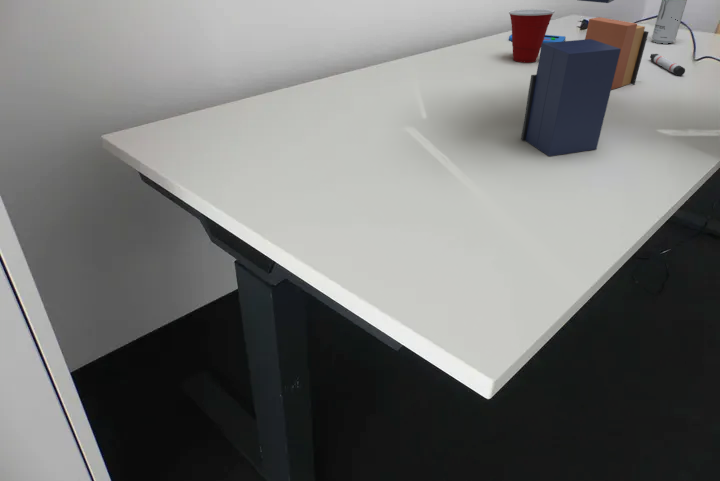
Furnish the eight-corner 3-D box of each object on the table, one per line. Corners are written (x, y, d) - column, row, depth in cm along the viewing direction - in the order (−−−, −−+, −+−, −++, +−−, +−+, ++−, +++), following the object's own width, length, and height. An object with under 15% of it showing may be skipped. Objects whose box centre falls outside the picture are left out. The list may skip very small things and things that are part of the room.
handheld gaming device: (513, 31, 160) (566, 35, 155) (513, 35, 161) (565, 39, 155) (507, 36, 154) (562, 41, 149) (507, 40, 155) (561, 45, 149)
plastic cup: (528, 52, 143) (535, 4, 137) (555, 62, 135) (564, 11, 128) (493, 57, 140) (499, 7, 133) (519, 67, 131) (527, 14, 125)
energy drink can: (647, 39, 155) (662, -18, 147) (668, 39, 155) (684, -18, 147) (656, 44, 150) (673, -15, 142) (678, 44, 150) (696, -15, 142)
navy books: (599, 149, 88) (624, 48, 80) (546, 156, 86) (566, 53, 77) (570, 132, 95) (590, 37, 86) (520, 139, 92) (536, 42, 84)
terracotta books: (613, 90, 115) (629, 26, 108) (574, 79, 122) (587, 18, 115) (634, 84, 119) (651, 21, 112) (595, 74, 126) (608, 14, 119)
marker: (683, 76, 124) (686, 67, 123) (675, 76, 124) (677, 67, 123) (653, 59, 137) (655, 51, 135) (645, 59, 137) (647, 51, 135)
